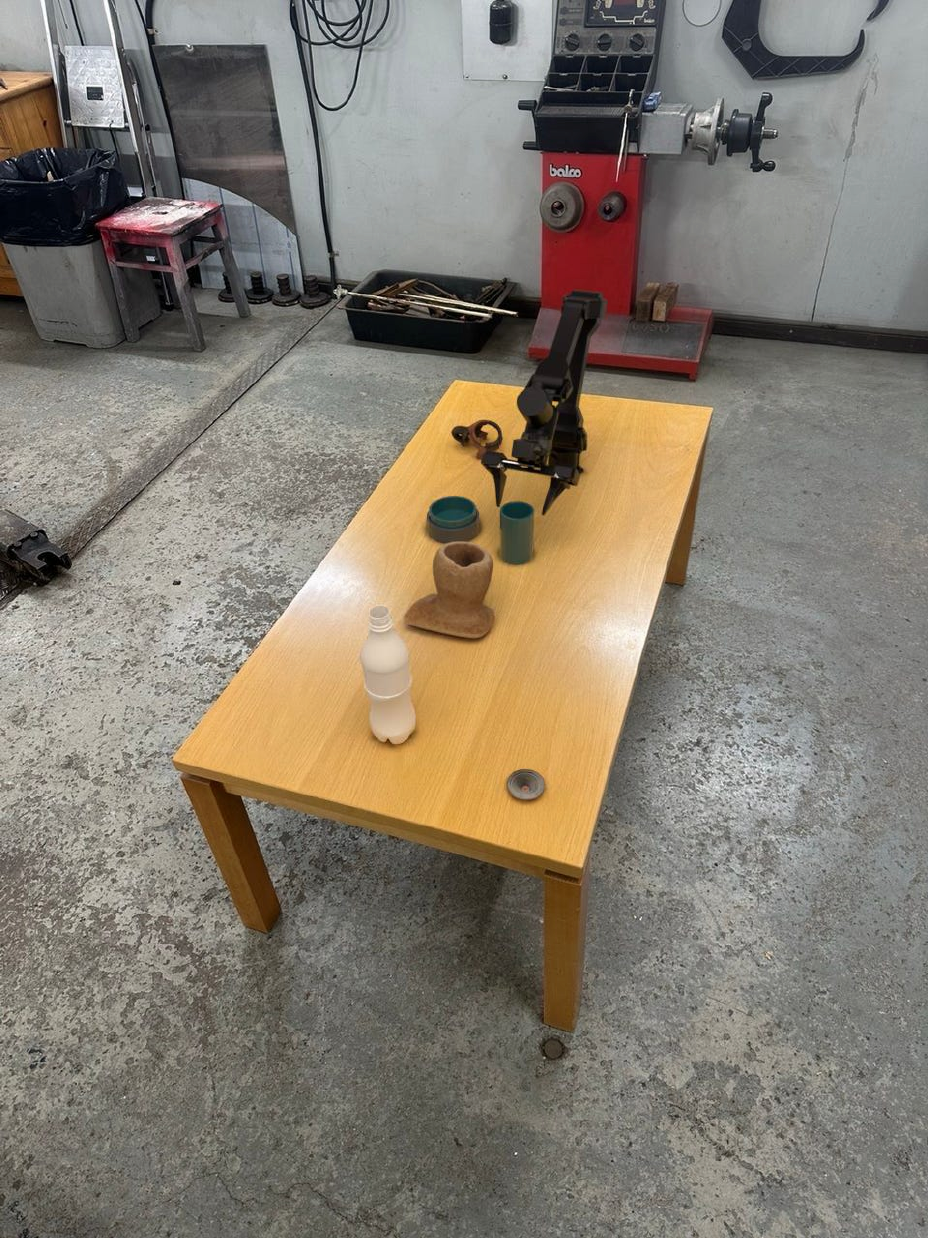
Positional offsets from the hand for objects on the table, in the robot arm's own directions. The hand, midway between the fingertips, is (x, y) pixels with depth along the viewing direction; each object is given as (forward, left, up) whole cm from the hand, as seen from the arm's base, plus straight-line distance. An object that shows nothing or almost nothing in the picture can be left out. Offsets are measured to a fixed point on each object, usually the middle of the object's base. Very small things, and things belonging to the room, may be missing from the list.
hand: (520, 510), depth 164 cm
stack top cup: (+7, -14, -9) cm, 18 cm away
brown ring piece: (-16, -38, -9) cm, 42 cm away
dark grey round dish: (+36, +48, -9) cm, 61 cm away
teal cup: (+2, +1, -9) cm, 9 cm away
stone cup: (+23, +10, -9) cm, 26 cm away
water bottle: (+46, +27, -9) cm, 54 cm away
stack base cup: (+7, -14, -9) cm, 18 cm away
